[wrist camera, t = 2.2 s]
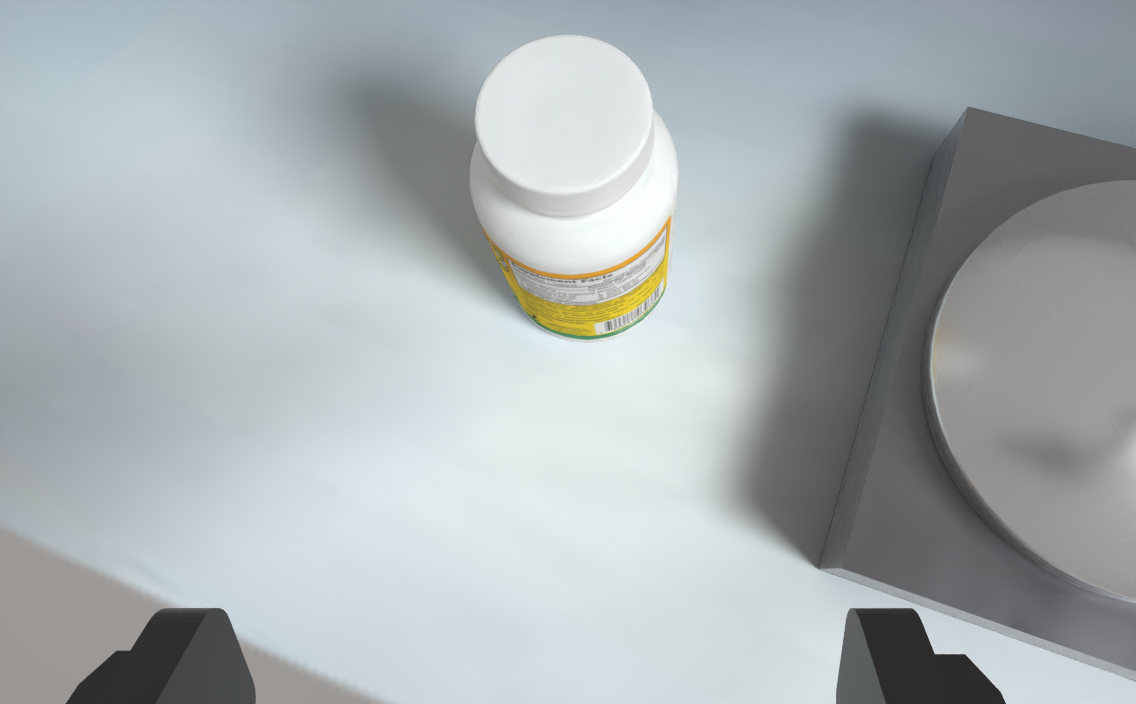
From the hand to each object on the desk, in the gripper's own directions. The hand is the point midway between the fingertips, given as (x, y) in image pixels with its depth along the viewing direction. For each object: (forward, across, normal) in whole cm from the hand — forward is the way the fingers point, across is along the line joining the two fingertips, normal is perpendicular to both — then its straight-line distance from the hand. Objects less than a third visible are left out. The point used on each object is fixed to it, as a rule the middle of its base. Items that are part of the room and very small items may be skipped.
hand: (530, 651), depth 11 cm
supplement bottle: (+18, 0, +3) cm, 18 cm away
